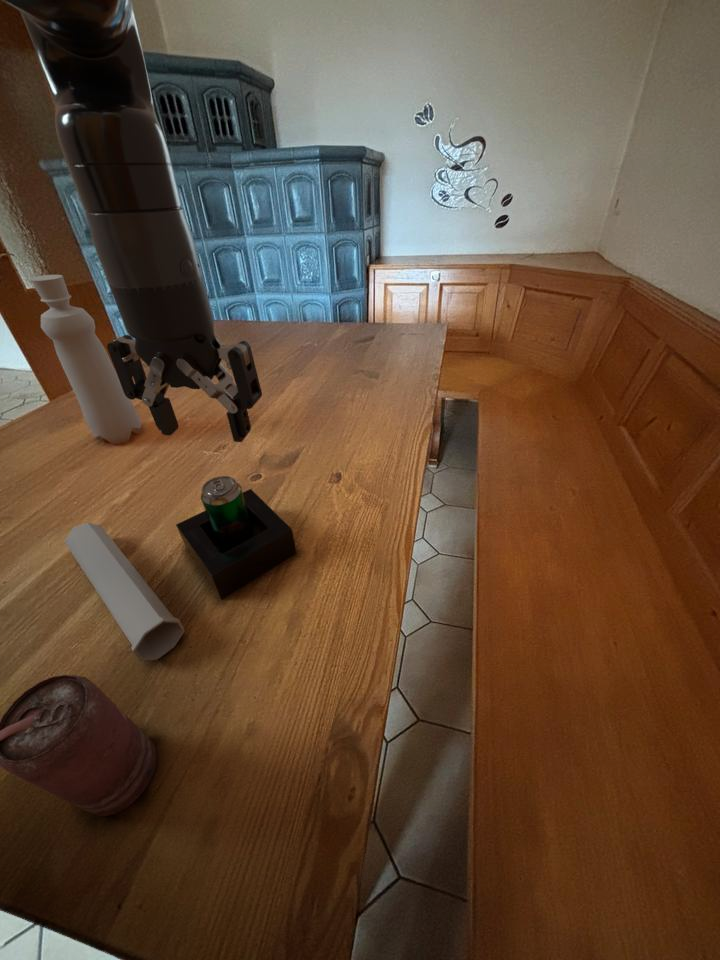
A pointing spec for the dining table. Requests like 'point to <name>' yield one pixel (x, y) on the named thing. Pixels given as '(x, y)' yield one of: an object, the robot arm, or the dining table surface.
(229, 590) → the holder
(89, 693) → the can
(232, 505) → the soda can
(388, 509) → the dining table surface
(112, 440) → the bottle
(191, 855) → the dining table surface
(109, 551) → the tube
